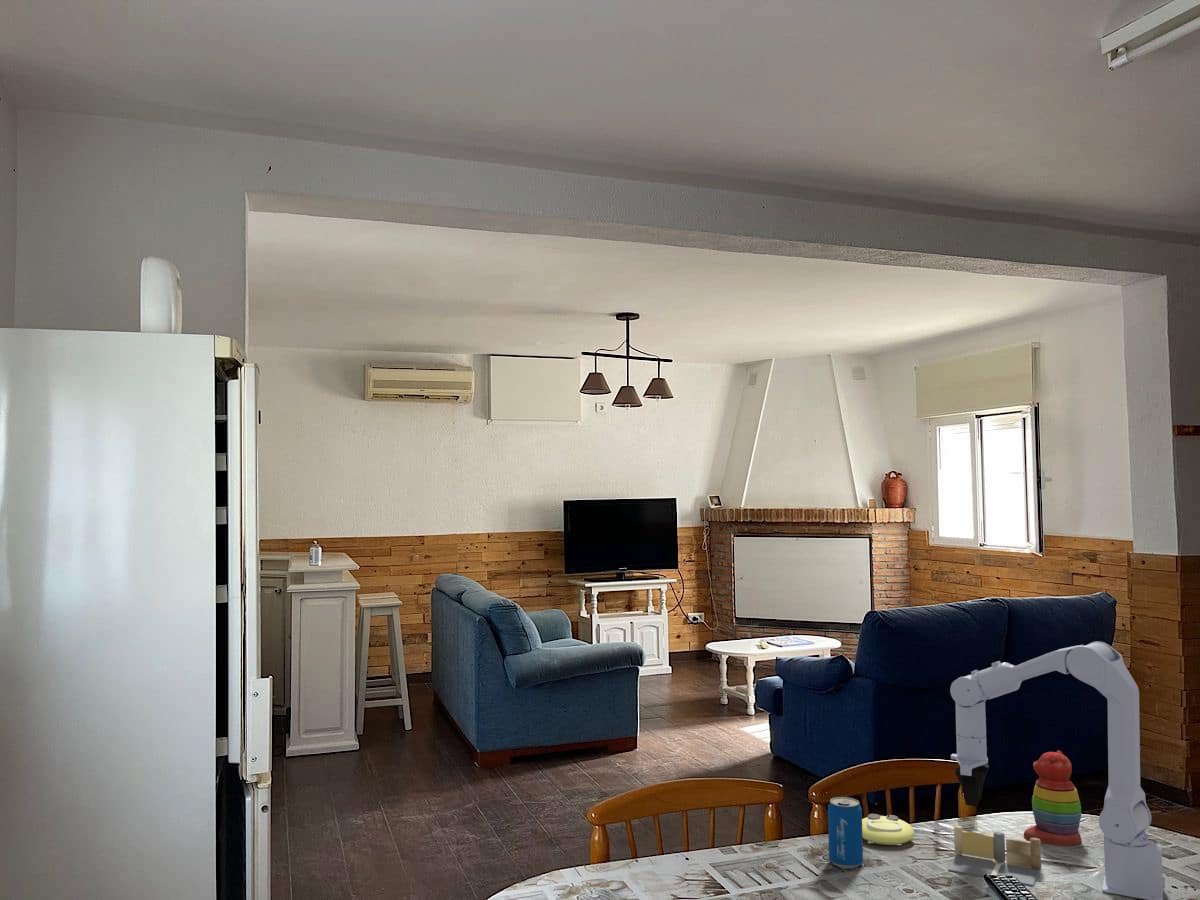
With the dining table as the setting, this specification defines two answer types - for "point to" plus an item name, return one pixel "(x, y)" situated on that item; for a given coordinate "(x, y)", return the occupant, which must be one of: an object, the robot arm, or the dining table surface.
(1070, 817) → the stacking bear
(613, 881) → the dining table surface
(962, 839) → the fence panel
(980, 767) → the robot arm
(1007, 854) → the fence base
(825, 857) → the dining table surface
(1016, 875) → the card
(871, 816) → the emoji
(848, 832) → the beverage can
